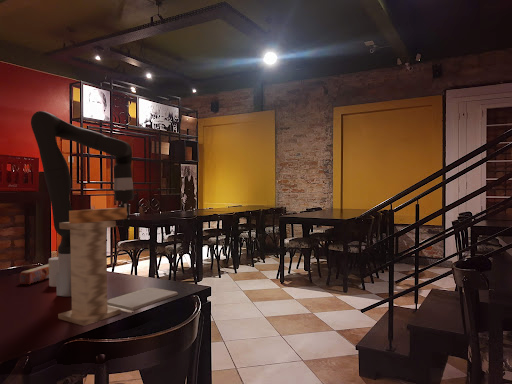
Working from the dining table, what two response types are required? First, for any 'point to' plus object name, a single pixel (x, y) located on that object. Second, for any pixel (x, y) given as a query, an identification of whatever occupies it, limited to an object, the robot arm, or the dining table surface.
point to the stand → (88, 273)
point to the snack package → (34, 274)
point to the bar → (97, 215)
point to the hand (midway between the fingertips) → (126, 227)
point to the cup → (53, 271)
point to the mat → (140, 298)
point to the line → (123, 309)
